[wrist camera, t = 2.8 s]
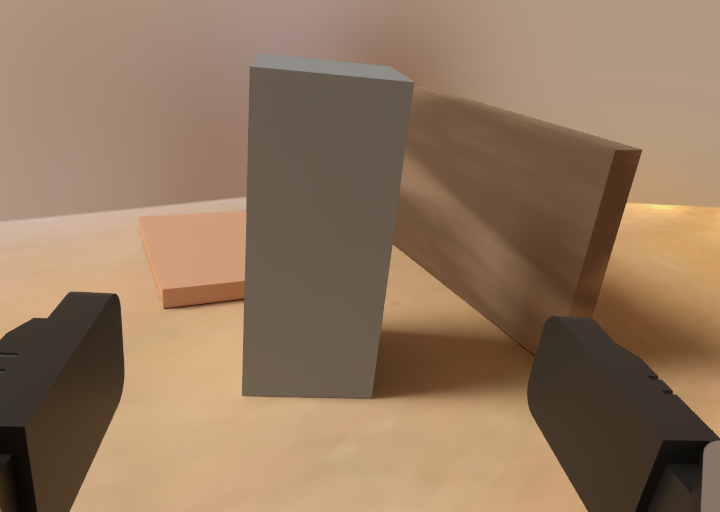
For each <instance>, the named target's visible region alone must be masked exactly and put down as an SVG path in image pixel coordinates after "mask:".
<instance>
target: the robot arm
mask: <svg viewBox="0 0 720 512" xmlns="http://www.w3.org/2000/svg"><path fill="white" fill-rule="evenodd" d="M123 384H124V354H123V337H122V321H121V306H120V300H119V297H118V296H117V294H112V293H92V292H69V293H68V294H67V295H66V296H65V298H64V299H63V300H62V301H61V302H60V304H59V305H58V306H57V307H56V309H55V310H54V311H53V312H52V313H51V315H50V316H49V317H48V318H33V319H31V320H30V321H28V322H26V323H24V324H22V325H21V326H19V327H17V328H15V329H13V330H12V331H10V332H8V333H6V334H5V336H4V337H3V338H2V339H1V340H0V512H70V509H71V507H72V505H73V503H74V501H75V498H76V496H77V494H78V492H79V490H80V488H81V485H82V483H83V481H84V479H85V477H86V474H87V472H88V470H89V468H90V466H91V464H92V461H93V459H94V457H95V455H96V453H97V450H98V448H99V446H100V444H101V442H102V440H103V437H104V435H105V433H106V431H107V429H108V426H109V424H110V422H111V420H112V418H113V416H114V413H115V411H116V409H117V407H118V404H119V402H120V399H121V395H122V390H123ZM527 397H528V405H529V409H530V412H531V414H532V416H533V418H534V420H535V421H536V423H537V425H538V427H539V428H540V430H541V432H542V433H543V435H544V437H545V439H546V440H547V442H548V444H549V445H550V447H551V449H552V451H553V452H554V454H555V456H556V457H557V459H558V461H559V463H560V464H561V466H562V468H563V469H564V471H565V473H566V475H567V476H568V478H569V480H570V481H571V483H572V485H573V487H574V488H575V490H576V492H577V493H578V495H579V497H580V499H581V500H582V502H583V504H584V505H585V507H586V509H587V511H588V512H720V438H719V437H718V436H717V435H716V434H715V433H714V432H713V431H712V430H711V429H710V428H709V427H708V426H707V425H706V424H705V423H704V422H703V421H702V420H701V419H700V418H699V417H698V416H697V415H696V414H695V413H694V412H693V411H692V410H691V409H690V408H689V407H688V406H687V405H686V404H685V403H684V402H683V401H682V400H681V399H680V398H679V397H678V396H677V395H673V391H672V390H671V389H670V388H669V387H668V386H667V385H666V384H665V383H664V382H663V381H662V380H658V376H657V375H656V374H655V373H654V372H653V371H652V370H651V369H650V367H649V366H648V365H647V364H646V363H645V362H644V361H643V360H642V359H640V358H639V357H637V356H635V355H634V354H632V353H631V352H629V351H627V350H626V349H624V348H623V347H621V346H619V345H618V344H616V343H615V342H614V341H613V340H612V339H611V338H610V337H609V336H608V335H607V334H606V333H605V331H604V330H603V329H602V328H601V327H600V326H599V325H598V324H597V323H596V322H595V321H594V320H593V319H591V318H586V317H566V316H551V317H549V318H548V319H547V320H546V322H545V324H544V326H543V329H542V333H541V337H540V341H539V344H538V348H537V352H536V356H535V359H534V363H533V367H532V371H531V374H530V378H529V382H528V390H527Z"/></svg>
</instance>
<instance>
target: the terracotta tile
mask: <svg viewBox="0 0 720 512" xmlns="http://www.w3.org/2000/svg"><path fill="white" fill-rule="evenodd" d="M138 219H139V233H140V236H141V239H142V243H143V246H144V249H145V252H146V255H147V258H148V262H149V265H150V268H151V271H152V274H153V277H154V280H155V284H156V287H157V290H158V293H159V296H160V299H161V303H162V306H163V308H170V307H178V306H187V305H195V304H203V303H212V302H220V301H228V300H237V299H244V293H245V251H246V211H241V212H222V213H203V214H184V215H165V216H146V217H138Z"/></svg>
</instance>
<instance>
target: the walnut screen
mask: <svg viewBox="0 0 720 512" xmlns="http://www.w3.org/2000/svg"><path fill="white" fill-rule="evenodd" d="M641 152H642V150H641V149H638V148H634V147H631V146H627V145H624V144H620V143H617V142H614V141H610V140H607V139H603V138H600V137H596V136H593V135H589V134H586V133H583V132H579V131H576V130H572V129H569V128H565V127H562V126H558V125H555V124H552V123H548V122H545V121H542V120H538V119H535V118H531V117H527V116H524V115H521V114H517V113H514V112H511V111H507V110H504V109H500V108H496V107H493V106H490V105H486V104H483V103H480V102H476V101H473V100H469V99H466V98H462V97H459V96H456V95H452V94H449V93H445V92H441V91H438V90H435V89H431V88H428V87H416V86H414V88H413V95H412V103H411V110H410V118H409V125H408V133H407V140H406V147H405V155H404V162H403V170H402V177H401V184H400V192H399V199H398V207H397V214H396V222H395V229H394V236H393V244H394V245H395V246H396V247H398V248H399V249H400V250H401V251H403V252H404V253H405V254H406V255H408V256H409V257H410V258H411V259H413V260H414V261H415V262H417V263H418V264H419V265H420V266H422V267H423V268H424V269H425V270H427V271H428V272H429V273H430V274H432V275H433V276H434V277H436V278H437V279H438V280H439V281H441V282H442V283H443V284H444V285H446V286H447V287H448V288H449V289H451V290H452V291H453V292H455V293H456V294H457V295H458V296H460V297H461V298H462V299H463V300H465V301H466V302H467V303H468V304H470V305H471V306H472V307H473V308H475V309H476V310H477V311H479V312H480V313H481V314H482V315H484V316H485V317H486V318H487V319H489V320H490V321H491V322H492V323H494V324H495V325H496V326H498V327H499V328H500V329H501V330H503V331H504V332H505V333H506V334H508V335H509V336H510V337H511V338H513V339H514V340H515V341H516V342H518V343H519V344H520V345H522V346H523V347H524V348H525V349H527V350H528V351H529V352H530V353H532V354H533V355H534V356H536V352H537V348H538V344H539V341H540V337H541V333H542V329H543V326H544V324H545V322H546V320H547V319H548V318H549V317H551V316H566V317H586V318H592V315H593V312H594V308H595V305H596V302H597V298H598V295H599V292H600V288H601V285H602V282H603V278H604V275H605V272H606V269H607V265H608V262H609V259H610V255H611V252H612V249H613V245H614V242H615V239H616V235H617V232H618V229H619V225H620V222H621V219H622V215H623V212H624V209H625V205H626V202H627V199H628V196H629V192H630V189H631V185H632V182H633V179H634V176H635V172H636V169H637V166H638V162H639V159H640V155H641Z"/></svg>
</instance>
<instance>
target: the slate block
mask: <svg viewBox="0 0 720 512" xmlns="http://www.w3.org/2000/svg"><path fill="white" fill-rule="evenodd" d="M413 88H414V82H413V81H412V80H410V79H409V78H407V77H406V76H404V75H403V74H401V73H400V72H398V71H396V70H395V69H393V68H392V67H391V66H381V65H370V64H361V63H350V62H341V61H331V60H321V59H311V58H300V57H291V56H281V55H271V54H261V53H260V55H259V56H258V57H257V58H256V60H255V61H254V62H253V63H252V64H251V66H250V85H249V127H248V168H247V209H246V251H245V293H244V334H243V376H242V396H274V397H321V398H368V399H372V392H373V385H374V377H375V370H376V362H377V355H378V348H379V340H380V333H381V325H382V318H383V310H384V303H385V296H386V288H387V281H388V273H389V266H390V259H391V251H392V244H393V236H394V229H395V222H396V214H397V207H398V199H399V192H400V184H401V177H402V170H403V162H404V155H405V147H406V140H407V133H408V125H409V118H410V110H411V103H412V95H413Z"/></svg>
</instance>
